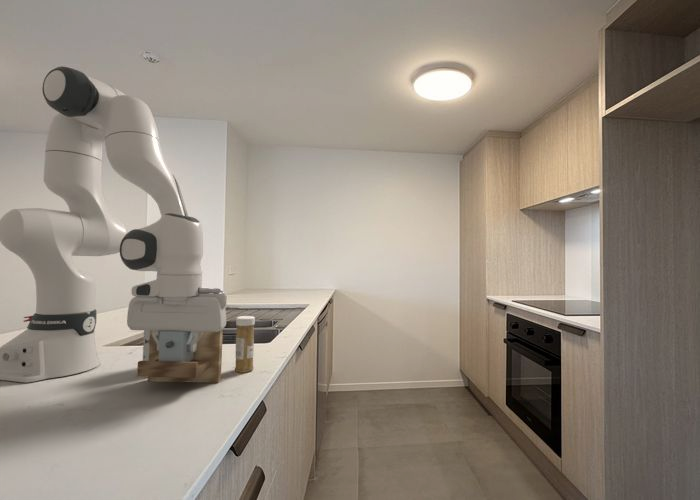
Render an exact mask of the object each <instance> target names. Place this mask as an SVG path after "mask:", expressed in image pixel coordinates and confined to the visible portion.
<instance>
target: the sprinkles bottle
mask: <svg viewBox="0 0 700 500" xmlns="http://www.w3.org/2000/svg"><path fill="white" fill-rule="evenodd" d="M235 319H236V320H235V325H236V333H235V334H236V336H235V337H236V338H235V367H234V371H235V372H237V373H243V374H245V373H249V372H251V371H253V369H254V352H255V351H254V348H255V347H254V342H255V340H254V339H255V337H254V334H255V333H254V332H255V323H256V317H255V316H253V315H252V316H251V315H240V316H237V317H236V318H235Z"/></svg>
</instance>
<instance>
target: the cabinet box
mask: <svg viewBox="0 0 700 500" xmlns="http://www.w3.org/2000/svg"><path fill="white" fill-rule="evenodd" d="M193 339H194V336H192V331H160V335H159V358H158V361H179V362H189V361H191V360H192V359H193V355H194V352H187V344H188V343H190V342H192V340H193Z"/></svg>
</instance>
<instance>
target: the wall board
mask: <svg viewBox="0 0 700 500" xmlns="http://www.w3.org/2000/svg"><path fill="white" fill-rule="evenodd" d="M223 329H224V328H223ZM223 329H222V330H221V331H218V332H203V335H202V336H201V338H200V339H199V341H198V342H197V350H196V351H195V352H194V355H193V359H192V360H191V361H189V362H179V361H158V358H159V351H157V343H156V342H155V340H154V338H153V336H152V330H150V341H149V361H143V360H139V361H137V377H141V378H143V377H144V378H147V382H163V383H164V382H167V383H168V382H169V383H170V382H171V383H214V384H215V383H220V382H221V381H222V360H223V359H222V358H223V357H222V356H223V336H224V335H223V331H224V330H223ZM194 337H195V336H194ZM137 377H136V378H137Z"/></svg>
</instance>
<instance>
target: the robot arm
mask: <svg viewBox="0 0 700 500" xmlns="http://www.w3.org/2000/svg"><path fill="white" fill-rule="evenodd" d="M42 94H43V95H42V96H43V97H44V100H45V102H46V104H47V105H48V106H49V107H51V109H52V110H54V111H56V112H58V113H57V114H55V115H54V116H53V118H52V120H51V121H50V122H51V123H50V125H49V128H48V131H47V132H48V133H47V137H46V141H45V152H44V165H43V166H44V168H43V182H44V184H45V187H46V188H47V189H48V190H49V191H50V192H51V193H53V194H55V195H56V196H58V197H60V198H61V199H62V200H64V202H65V204H66V205H67V207H68V211H65V210H55V209H48V208H39V207H37V208H36V207H35V208H34V207H33V208H32V207H31V208H30V207H29V208H28V207H27V208H13V209H10V210H9V211H7V212H6V213H4V215H2V217H1V218H0V243H1V245H2V246H3V247H4V248H5V249H7V250H8V251H9V252H12V253H13V254H14V255H16V256H17V257H19V258H20V259H21V260H22V261H23V262H24V263H25V264H26V265H27V266H28V268H29V269H30V271H31V273H32V275H33V277H34V281H35V282H34V283H35V290H36V291H35V293H36V294H35V296H36V304H35V305H36V306H35V313H34V314H33V315H28V316H24V317H23V319H24V320H23V321H22V322H24V323H26V322H28V324H27V326H26V328H27V329H25V330H24V331H23V332H21V333H19V334H18V335H17V336H15V337H14V338H12V339H10V340H9V341H8V342H6V343H4V344H2V346H0V380H1V381H9V382H19V383H32V382H33V383H34V382H38V381H42V380H47V379H53V378H60V377H61V378H62V377H66V376H71V375H72V376H73V375H75V374H79V373H80V374H81V373H83V372H86V371H87V372H88V371H90V370H92V369H95V368H96V367H98V366H99V365H100V364H101V361H100V359H99V358H100V357H99V356H98V350H97V345H96V338H95V335H96V334H95V329H96V324H97V309H95V307H96V305H95V304H96V290H97V287H96V286H97V284H96V281H95V279H94V278H93V276H91V275H90V274H89V273H87V272H86V271H85V272H84V271H82V270H81V269H78V268H77V267H76V265H74V262H73V258H72V257H103V256H110V255H116V254H119V256H120V259H121V261H122V263H123V264H124V265H125V266H126V267H127V268H128V269H130V270H132V271H137V272H156V279H154V280H151V281H147V282H144V283H140V284H136V285H133V286H132V287H131V296H133V297H132V298H131V300H130V301H129V304H128V308H127V315H126V317H127V318H126V325H127V327H128V328H129V330H131V331H144V330H152V336H153V338H154V340H155V342H156V343H157V351H159V335H160V331H192V336H195V337H194V339H193V340H192V342H190V343H188V344H187V352H195V351H196V350H197V342H198V341H199V339H200V338H201V336H202V335H203V332H218V331H221V330H222V329H224V328H226V325H227V311H226V305H227V293H226V292H225V291H223V290H221V288H216V287H215V288H208V287H202V284H203V283H202V281H203V271H202V267H201V264H202V263H201V262H202V258H203V257H204V256H203V254H204V235H203V227H202V223H201V222H200V220H198V219H197V218H196V217H192V216H189V214H188V210H187V207H186V203H185V201H184V197H183V195H182V191H181V188H180V185H179V183H178V180H177V179H176V177H175V176H174V174H173V173H172V171H171V169H170V167H169V165H168V162H167V161H166V159H165V156H164V153H163V150H162V145H161V139H160V136H159V135H160V134H159V130H158V127H157V124H156V121H155V118H154V115H153V113H152V110H151V108H150V107H149V106H148V105H147V103H146V102H144V100H141V98H139V97H135V96H133V95H127V94H126V93H124V92H122V91H121V90H119V89H117V88H116V87H114V86H112V85H111V84H107V83H105V82H103V81H101V80H99V79H96V78H94V77H92V76H89V75H86V74H85V73H84V72H83V71H81V70H77V69H75V68H71V67H67V66H62V65H61V66H58V67H55V68H53V69H51V70H50V71H48V72H47V74H46V76H44V79H43V83H42ZM104 145H105V151H106V157H107V159H108V162H109V164H110V166H111V168H112V170H114V172H115V173H116V174H117V175H119V176H120V177H121V178H123V179H124V180H126V181H128V182H130V183H131V184H133V185H135V186H136V187H137V188H140V189H141V190H143V191H144V192H145V193H147V194H148V195H149V196H151V198H152V199H153V200H154V201H155V203H156V204H157V206H158V210H159V212H160V218H159V219H158V220H157V221H155V222H154V223H151V224H149V225H147V226H143V227H139V228H135V229H131V230H130V231H128V230H127V228H126V226H125V224H124V223H123V222H122V221H121V220H119V219H118V218H117V217H116V216H115V215H114V213H113V212H112V210H110V207H109V206H108V204H107V202H106V199H105V197H104V193H103V181H102V179H103V178H102V174H103V172H102V171H103V169H102V168H103V148H104Z"/></svg>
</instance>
